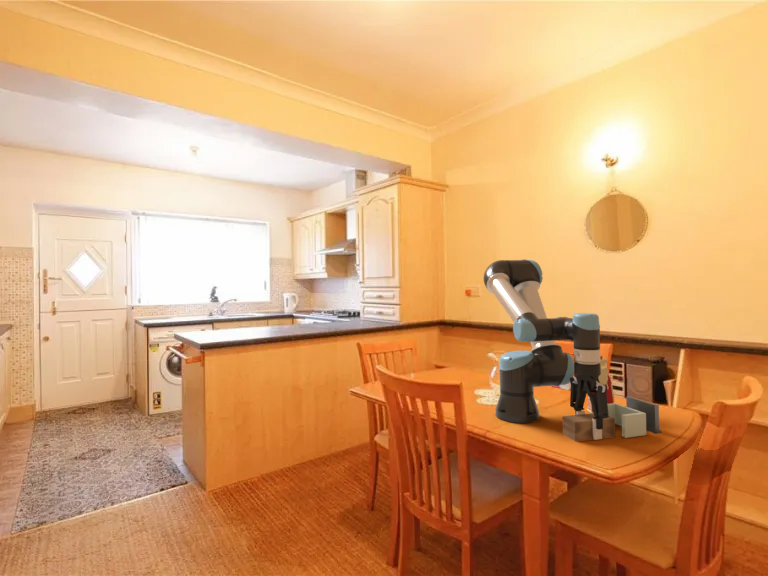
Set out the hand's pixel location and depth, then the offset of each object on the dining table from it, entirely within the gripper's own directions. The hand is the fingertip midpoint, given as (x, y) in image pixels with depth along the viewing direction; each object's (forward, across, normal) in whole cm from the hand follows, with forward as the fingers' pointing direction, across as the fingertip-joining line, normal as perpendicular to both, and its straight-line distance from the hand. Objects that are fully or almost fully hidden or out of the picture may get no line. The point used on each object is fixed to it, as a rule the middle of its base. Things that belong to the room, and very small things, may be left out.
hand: (589, 434), depth 128 cm
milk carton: (0, -19, +22) cm, 29 cm away
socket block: (0, 0, +12) cm, 13 cm away
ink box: (0, -52, +31) cm, 61 cm away
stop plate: (0, 0, +21) cm, 21 cm away
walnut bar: (0, 0, 0) cm, 0 cm away
